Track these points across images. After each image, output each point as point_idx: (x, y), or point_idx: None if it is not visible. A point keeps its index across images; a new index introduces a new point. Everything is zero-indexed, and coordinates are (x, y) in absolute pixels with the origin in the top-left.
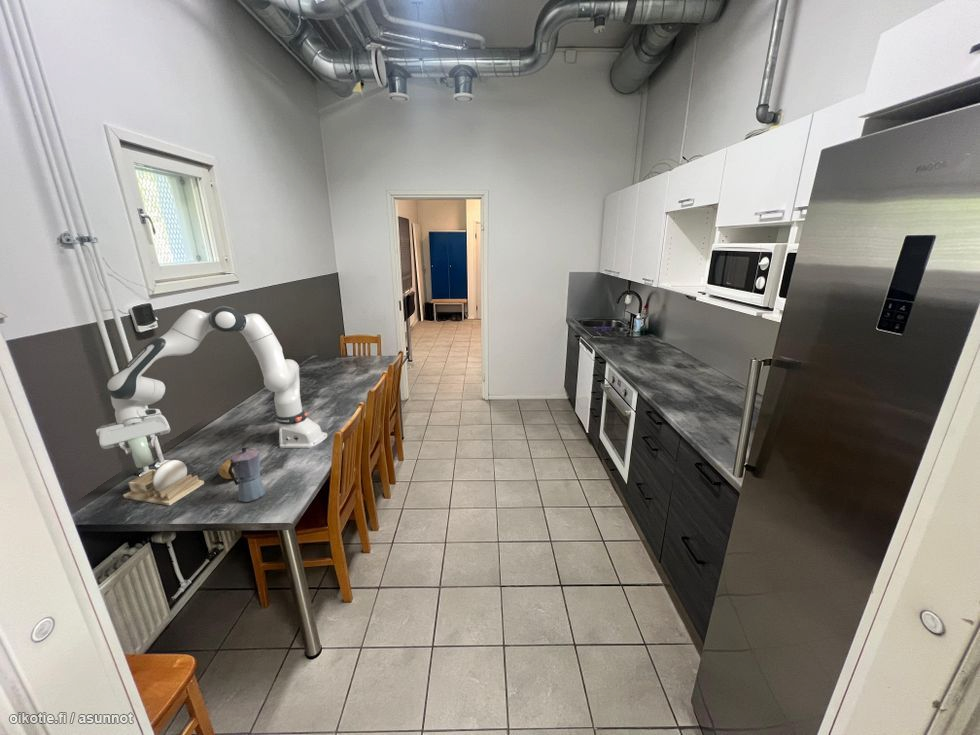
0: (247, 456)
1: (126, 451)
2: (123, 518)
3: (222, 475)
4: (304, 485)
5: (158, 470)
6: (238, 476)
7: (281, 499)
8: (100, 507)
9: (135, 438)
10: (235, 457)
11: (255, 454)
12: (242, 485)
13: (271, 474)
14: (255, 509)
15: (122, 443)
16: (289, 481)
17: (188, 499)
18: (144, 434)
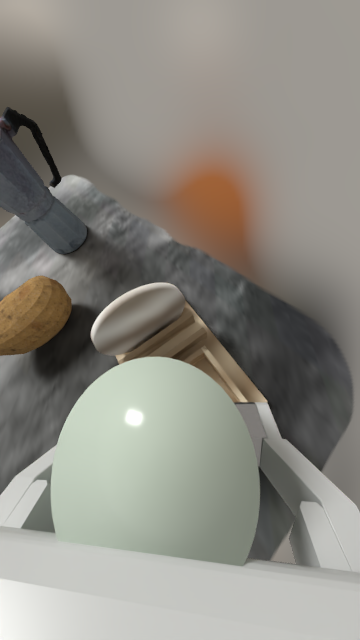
0: None
1: (262, 407)
2: (250, 294)
3: (66, 293)
4: (17, 225)
5: (153, 283)
6: (42, 184)
7: None
8: (316, 388)
9: (161, 500)
10: None
11: None
12: (58, 200)
13: (21, 283)
14: (83, 206)
15: (333, 537)
16: (20, 245)
17: None
18: (35, 560)
